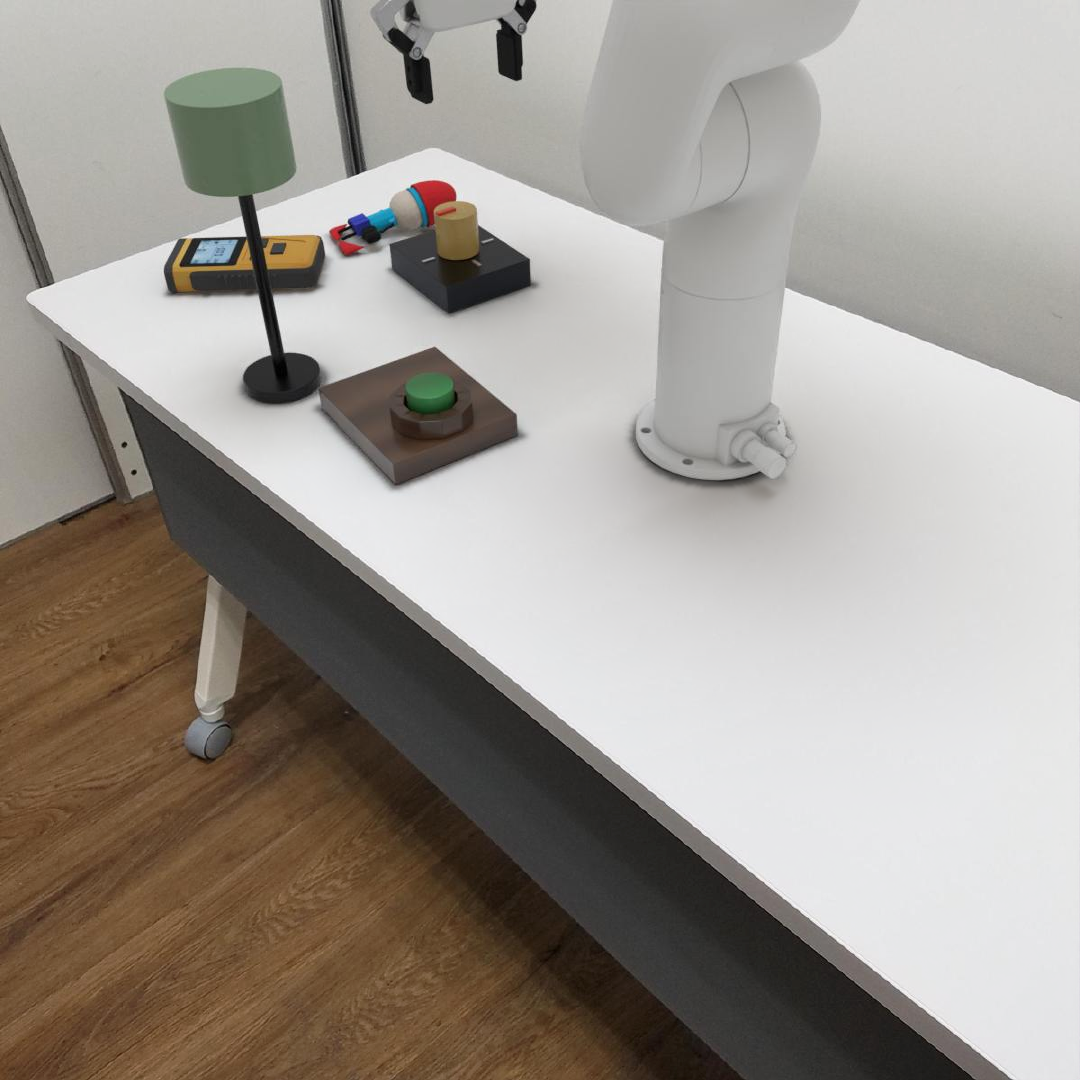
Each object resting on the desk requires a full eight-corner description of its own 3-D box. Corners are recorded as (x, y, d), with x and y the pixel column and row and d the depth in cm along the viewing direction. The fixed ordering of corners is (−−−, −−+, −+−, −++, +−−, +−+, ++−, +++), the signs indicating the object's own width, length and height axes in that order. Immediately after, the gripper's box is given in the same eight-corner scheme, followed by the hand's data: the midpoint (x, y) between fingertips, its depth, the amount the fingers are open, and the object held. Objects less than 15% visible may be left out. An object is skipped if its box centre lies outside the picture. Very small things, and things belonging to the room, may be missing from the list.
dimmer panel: (531, 285, 119) (530, 257, 117) (448, 313, 114) (446, 285, 112) (471, 244, 126) (469, 217, 124) (392, 269, 122) (388, 242, 120)
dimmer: (465, 237, 121) (461, 194, 118) (487, 252, 118) (484, 208, 115) (429, 249, 119) (425, 205, 116) (451, 264, 116) (447, 220, 113)
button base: (518, 435, 98) (516, 396, 95) (395, 485, 93) (390, 445, 90) (437, 366, 107) (433, 328, 104) (321, 408, 102) (314, 370, 99)
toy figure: (352, 271, 125) (472, 220, 128) (337, 230, 122) (461, 179, 125) (332, 249, 131) (447, 201, 134) (317, 210, 128) (436, 161, 131)
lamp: (348, 388, 104) (300, 89, 87) (257, 421, 101) (188, 116, 83) (307, 347, 110) (254, 59, 93) (219, 377, 106) (147, 83, 89)
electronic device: (317, 295, 119) (312, 265, 117) (168, 297, 119) (160, 268, 117) (328, 257, 125) (323, 228, 123) (186, 260, 125) (179, 231, 123)
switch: (463, 405, 95) (462, 387, 94) (422, 421, 94) (420, 403, 92) (439, 384, 98) (438, 367, 97) (398, 400, 96) (396, 382, 95)
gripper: (511, -139, 101) (521, 60, 112) (337, -111, 94) (366, 99, 105) (560, -130, 96) (565, 78, 107) (380, -99, 89) (405, 120, 100)
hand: (467, 88), depth 106 cm, fingers open, 9 cm apart
